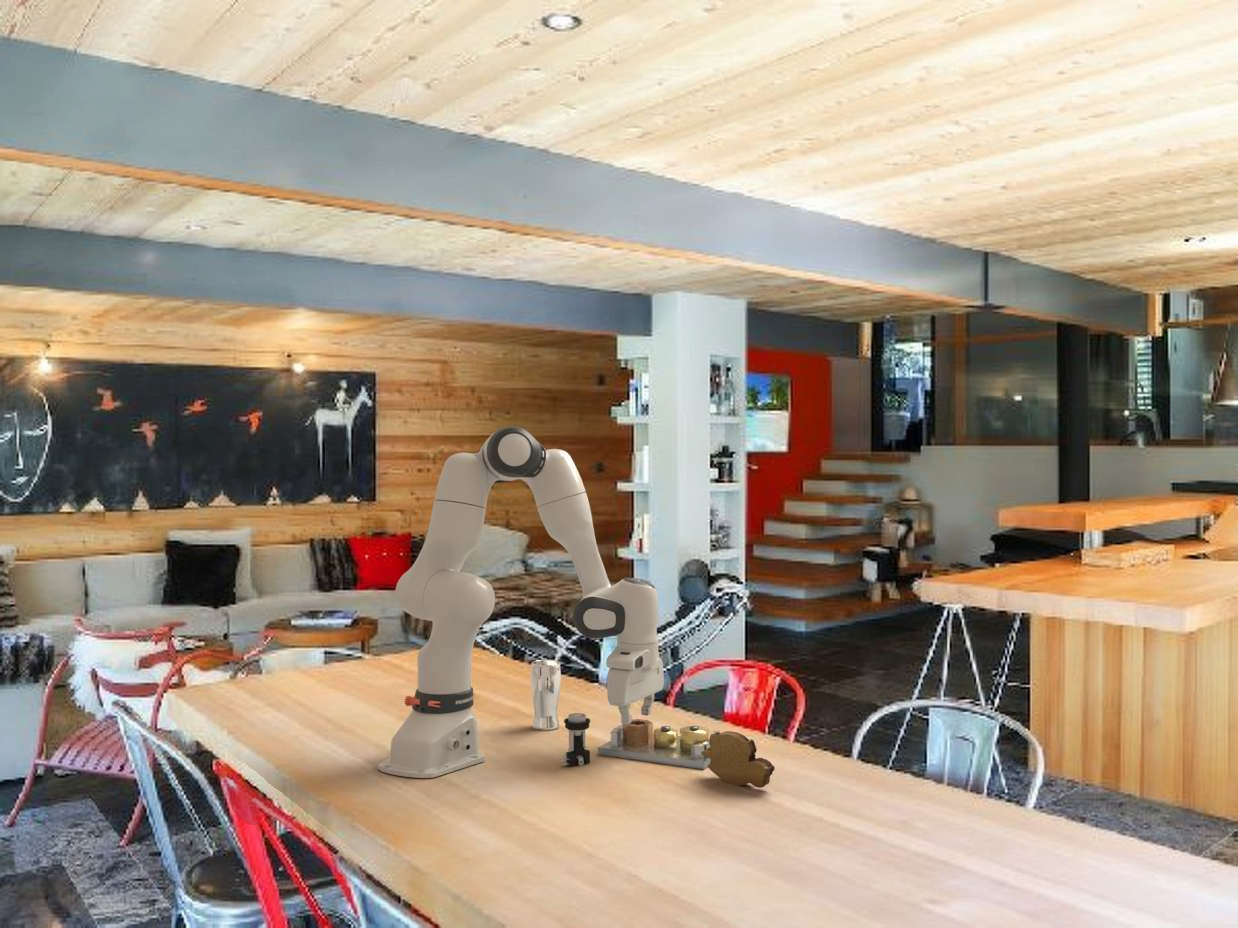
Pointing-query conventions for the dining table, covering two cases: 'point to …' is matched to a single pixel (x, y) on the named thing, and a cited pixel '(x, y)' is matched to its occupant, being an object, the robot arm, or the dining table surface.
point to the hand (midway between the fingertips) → (636, 719)
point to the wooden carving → (737, 760)
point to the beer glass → (545, 693)
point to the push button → (576, 740)
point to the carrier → (663, 747)
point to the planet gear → (638, 732)
